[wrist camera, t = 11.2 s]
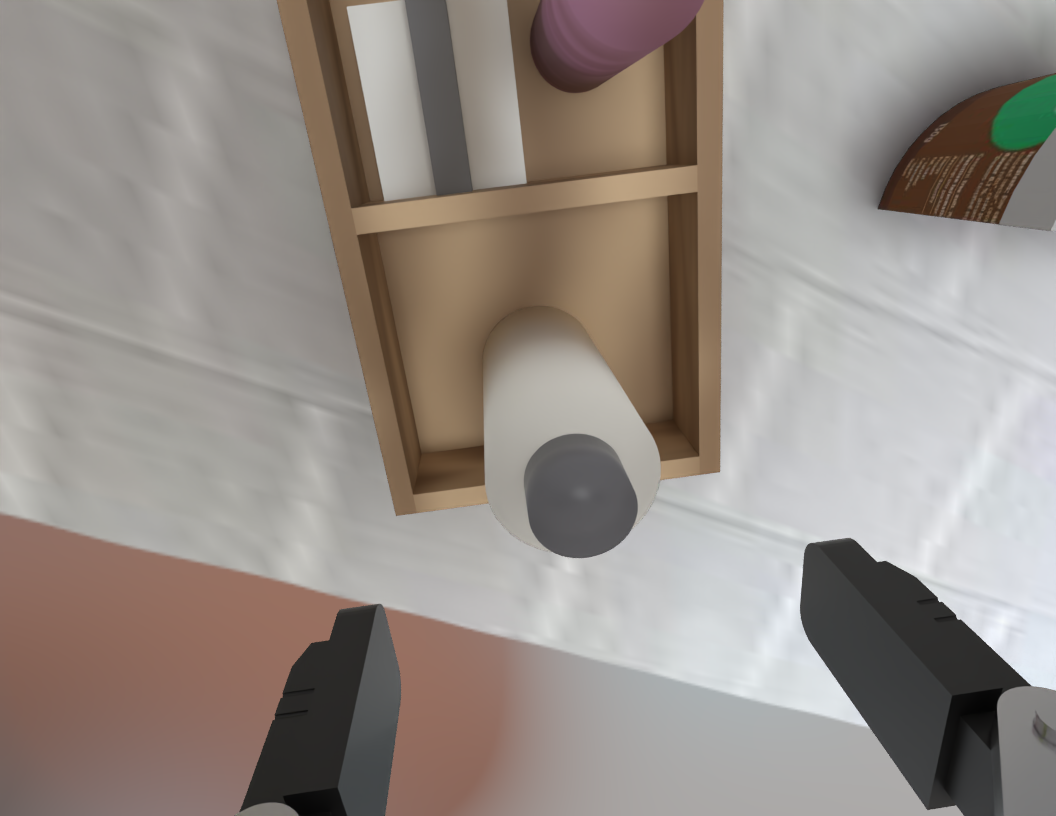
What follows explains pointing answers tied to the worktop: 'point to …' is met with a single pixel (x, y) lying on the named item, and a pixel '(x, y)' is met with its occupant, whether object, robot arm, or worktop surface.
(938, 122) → the food container
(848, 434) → the worktop surface
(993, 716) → the robot arm
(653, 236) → the caddy
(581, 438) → the bottle
